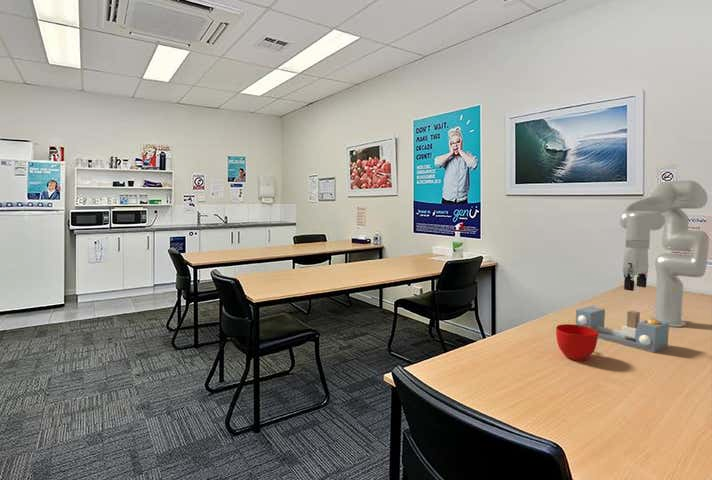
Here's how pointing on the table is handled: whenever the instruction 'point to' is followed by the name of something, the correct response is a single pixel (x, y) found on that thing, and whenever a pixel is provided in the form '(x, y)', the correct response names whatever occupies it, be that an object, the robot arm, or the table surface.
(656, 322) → the button
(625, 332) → the carriage
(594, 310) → the rail bed
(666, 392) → the table surface
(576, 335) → the ceramic cup
